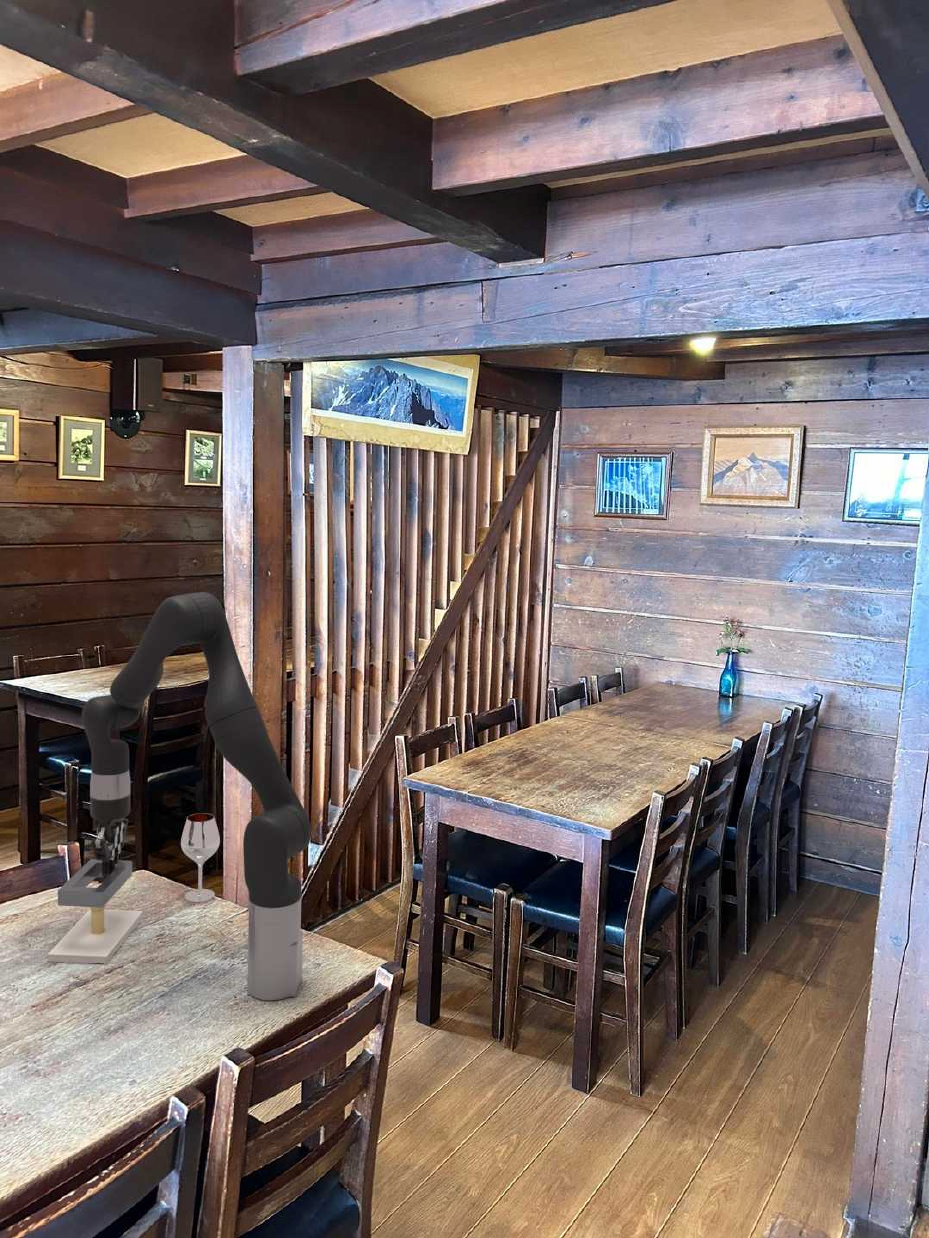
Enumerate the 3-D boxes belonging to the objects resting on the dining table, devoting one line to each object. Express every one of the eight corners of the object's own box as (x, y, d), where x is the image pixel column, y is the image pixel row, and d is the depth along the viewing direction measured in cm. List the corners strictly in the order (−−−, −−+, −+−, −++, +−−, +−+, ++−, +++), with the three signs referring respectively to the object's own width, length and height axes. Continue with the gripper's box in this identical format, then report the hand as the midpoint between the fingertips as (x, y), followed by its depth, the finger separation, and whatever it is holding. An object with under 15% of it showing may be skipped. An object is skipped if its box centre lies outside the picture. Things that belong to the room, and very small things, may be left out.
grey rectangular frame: (91, 872, 183) (91, 858, 183) (132, 874, 183) (132, 860, 183) (57, 905, 168) (57, 890, 168) (102, 907, 168) (102, 892, 168)
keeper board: (142, 917, 186) (142, 882, 185) (106, 964, 167) (106, 924, 166) (90, 915, 186) (89, 879, 185) (47, 961, 167) (47, 922, 166)
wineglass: (180, 889, 200) (181, 812, 198) (218, 886, 203) (219, 810, 201) (180, 905, 193) (181, 825, 190) (219, 902, 195) (220, 822, 193)
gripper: (115, 804, 173) (115, 889, 175) (141, 782, 187) (140, 861, 189) (77, 802, 173) (77, 887, 175) (105, 780, 187) (105, 860, 189)
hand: (110, 873), depth 182 cm, fingers closed on grey rectangular frame
